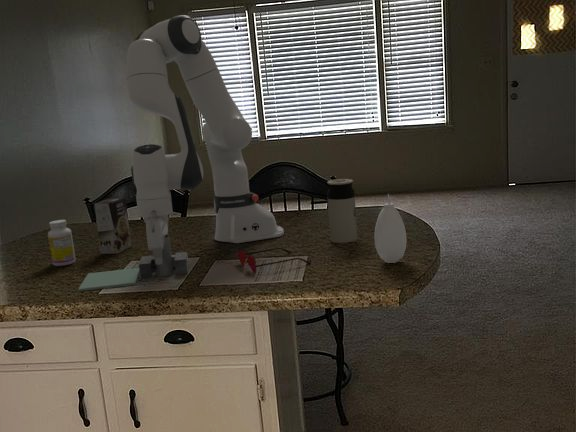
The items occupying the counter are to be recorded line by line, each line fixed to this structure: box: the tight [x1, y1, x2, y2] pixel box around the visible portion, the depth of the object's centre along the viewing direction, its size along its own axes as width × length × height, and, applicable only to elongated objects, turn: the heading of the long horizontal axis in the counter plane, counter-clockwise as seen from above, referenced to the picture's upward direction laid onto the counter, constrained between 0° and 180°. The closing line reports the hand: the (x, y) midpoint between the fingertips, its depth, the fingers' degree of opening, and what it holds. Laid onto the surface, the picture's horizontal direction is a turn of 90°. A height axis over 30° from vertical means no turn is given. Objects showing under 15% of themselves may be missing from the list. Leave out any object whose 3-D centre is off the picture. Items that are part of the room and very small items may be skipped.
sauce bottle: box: [373, 193, 408, 264], centre depth 155 cm, size 8×8×18 cm
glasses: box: [235, 247, 312, 274], centre depth 164 cm, size 14×16×5 cm
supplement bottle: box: [47, 219, 77, 267], centre depth 182 cm, size 7×7×13 cm
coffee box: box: [93, 197, 132, 255], centre depth 193 cm, size 9×6×16 cm
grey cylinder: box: [153, 234, 174, 277], centre depth 162 cm, size 4×4×10 cm
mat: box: [77, 267, 140, 292], centre depth 162 cm, size 14×14×1 cm
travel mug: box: [326, 178, 358, 244], centre depth 181 cm, size 8×8×18 cm
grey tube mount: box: [138, 251, 189, 280], centre depth 165 cm, size 12×10×4 cm
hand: (160, 259), depth 163 cm, fingers open, 8 cm apart
